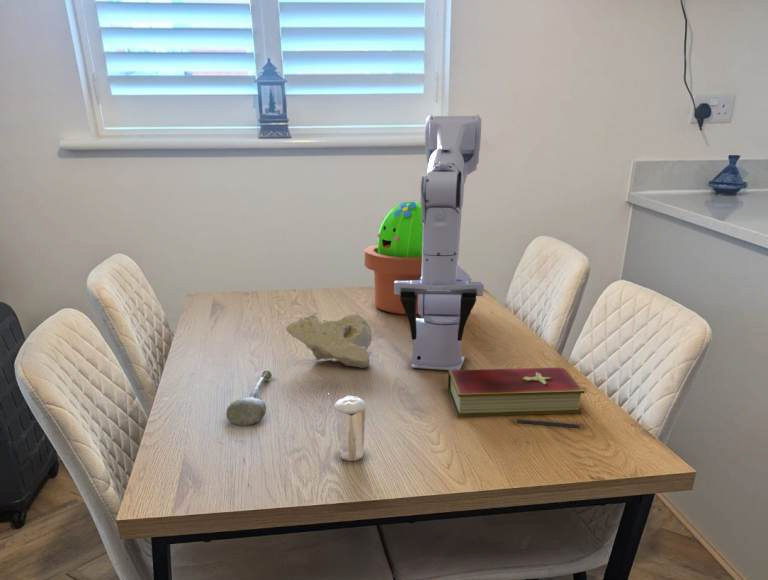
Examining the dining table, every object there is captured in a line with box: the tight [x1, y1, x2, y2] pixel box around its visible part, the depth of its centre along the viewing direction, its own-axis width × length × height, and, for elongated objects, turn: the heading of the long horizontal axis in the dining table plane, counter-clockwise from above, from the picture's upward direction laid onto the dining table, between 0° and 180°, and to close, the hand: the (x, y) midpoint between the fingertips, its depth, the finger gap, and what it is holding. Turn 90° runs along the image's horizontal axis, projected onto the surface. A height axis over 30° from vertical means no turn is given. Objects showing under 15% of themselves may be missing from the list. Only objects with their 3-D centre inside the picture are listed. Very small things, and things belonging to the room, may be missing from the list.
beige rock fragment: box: [285, 312, 373, 369], centre depth 143 cm, size 15×7×15 cm
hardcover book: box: [447, 366, 585, 418], centre depth 124 cm, size 12×21×4 cm, turn 93°
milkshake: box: [327, 393, 367, 462], centre depth 104 cm, size 4×5×10 cm
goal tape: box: [516, 419, 581, 429], centre depth 124 cm, size 10×18×1 cm, turn 167°
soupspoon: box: [225, 370, 273, 427], centre depth 125 cm, size 22×3×7 cm
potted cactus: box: [363, 199, 423, 315], centre depth 174 cm, size 22×22×25 cm
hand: (436, 338), depth 121 cm, fingers open, 7 cm apart
